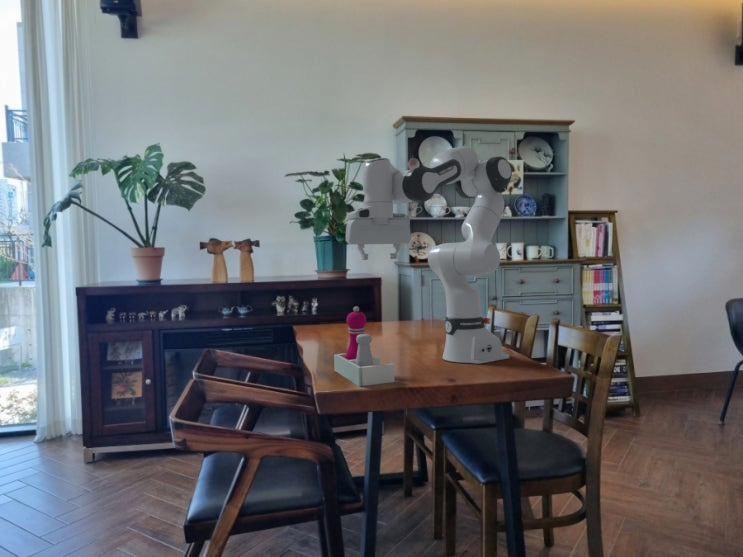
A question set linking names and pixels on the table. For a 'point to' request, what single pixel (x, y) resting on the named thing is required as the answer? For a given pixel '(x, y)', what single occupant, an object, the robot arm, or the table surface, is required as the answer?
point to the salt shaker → (364, 351)
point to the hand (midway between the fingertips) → (379, 259)
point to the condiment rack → (364, 371)
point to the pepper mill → (354, 331)
